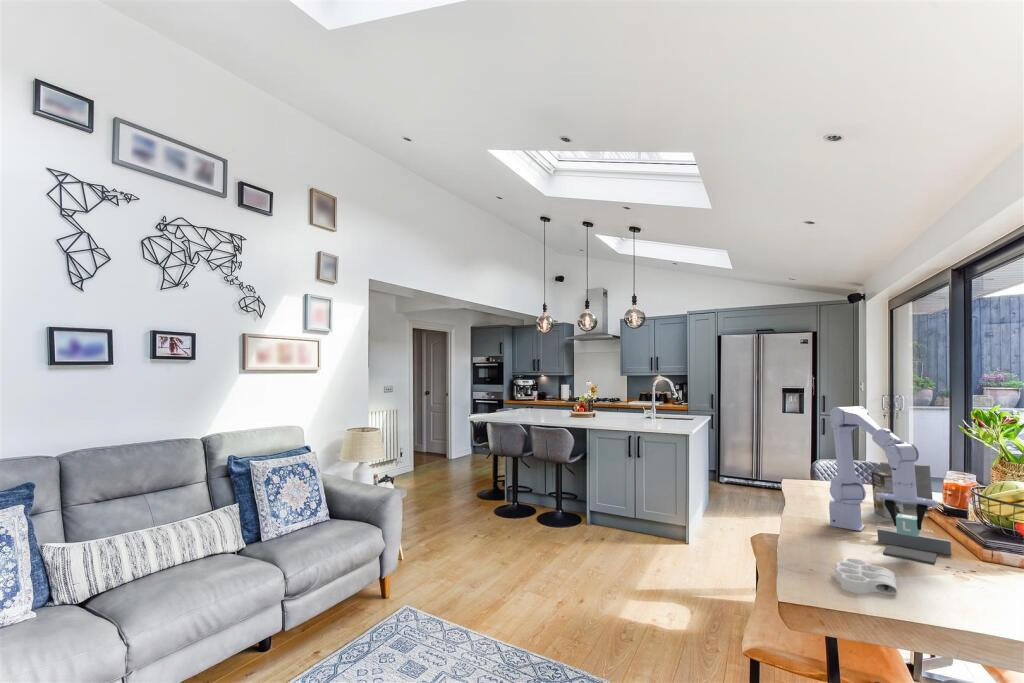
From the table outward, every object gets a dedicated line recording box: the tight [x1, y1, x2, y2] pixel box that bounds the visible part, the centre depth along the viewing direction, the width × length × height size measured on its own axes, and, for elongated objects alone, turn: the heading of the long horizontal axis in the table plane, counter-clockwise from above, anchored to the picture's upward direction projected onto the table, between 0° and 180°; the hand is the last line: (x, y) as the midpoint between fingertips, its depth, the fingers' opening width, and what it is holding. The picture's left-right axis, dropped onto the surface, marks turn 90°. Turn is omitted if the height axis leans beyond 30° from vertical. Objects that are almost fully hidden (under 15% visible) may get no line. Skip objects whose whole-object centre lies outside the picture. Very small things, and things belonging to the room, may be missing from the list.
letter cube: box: [895, 513, 921, 537], centre depth 150 cm, size 5×5×5 cm
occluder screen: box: [876, 527, 952, 556], centre depth 155 cm, size 18×2×4 cm, turn 45°
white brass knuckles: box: [829, 557, 898, 596], centre depth 132 cm, size 3×18×15 cm
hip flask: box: [879, 461, 934, 510], centre depth 197 cm, size 16×4×20 cm, turn 57°
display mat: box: [882, 544, 938, 565], centre depth 149 cm, size 12×9×1 cm
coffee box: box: [871, 470, 904, 519], centre depth 188 cm, size 9×6×16 cm
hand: (907, 527), depth 149 cm, fingers closed on letter cube, 5 cm apart
